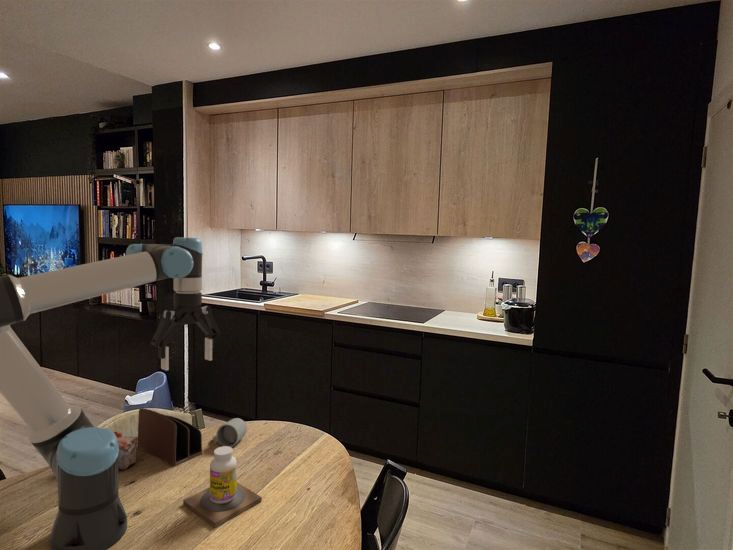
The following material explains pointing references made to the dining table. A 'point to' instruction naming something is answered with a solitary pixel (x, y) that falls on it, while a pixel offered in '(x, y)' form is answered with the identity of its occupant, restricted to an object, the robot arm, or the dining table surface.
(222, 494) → the supplement bottle
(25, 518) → the dining table surface
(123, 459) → the food item
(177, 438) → the letter holder
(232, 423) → the ceramic mug
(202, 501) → the dock plate
